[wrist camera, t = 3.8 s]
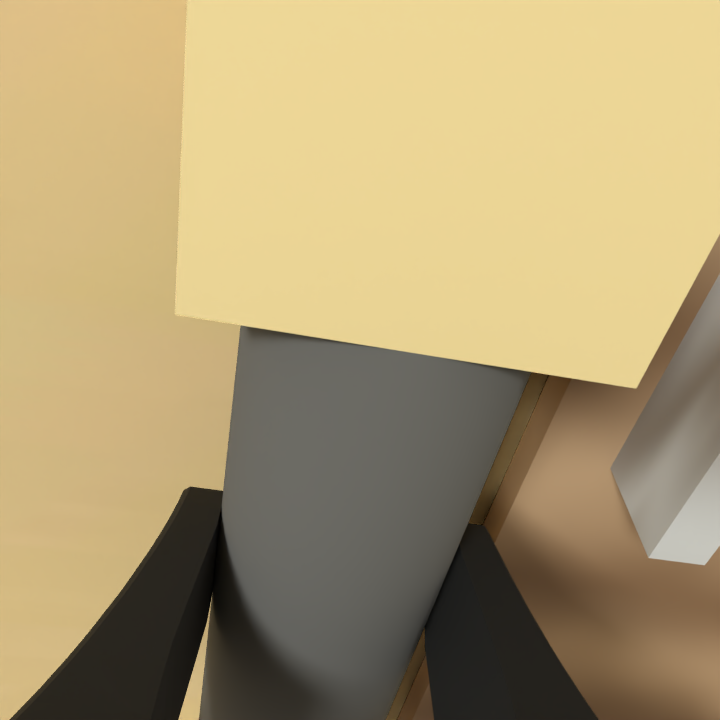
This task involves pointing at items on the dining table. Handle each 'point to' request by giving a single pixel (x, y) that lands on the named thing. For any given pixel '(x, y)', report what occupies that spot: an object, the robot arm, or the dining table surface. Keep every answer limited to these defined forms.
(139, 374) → the dining table surface
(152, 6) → the dining table surface
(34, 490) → the dining table surface
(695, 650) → the board
